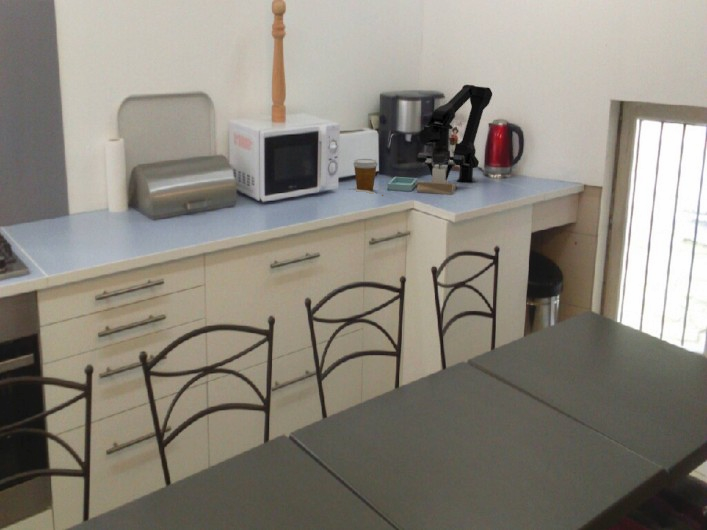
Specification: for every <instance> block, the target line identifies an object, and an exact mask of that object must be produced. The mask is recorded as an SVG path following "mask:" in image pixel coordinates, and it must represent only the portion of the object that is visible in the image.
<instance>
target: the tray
mask: <svg viewBox="0 0 707 530" xmlns="http://www.w3.org/2000/svg"><path fill="white" fill-rule="evenodd" d="M418 180H419V179H418V177H406V176H405V177H403V176H402V177H401V176H394V177H393V178H392V179H391V180H390V181H389V182H388V183H387V191H396V192H397V191H399V192H413V190H414V189H415V188H416V187H417V184H418V182H419V181H418Z"/></svg>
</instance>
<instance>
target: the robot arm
mask: <svg viewBox="0 0 707 530" xmlns="http://www.w3.org/2000/svg"><path fill="white" fill-rule="evenodd" d="M492 97H493V91H492V90H491V88H490V87H488V86H478V85H477V86H476V85H473V84H464V85H463V86H462V88H461V89H460V90H459V91H458V92H457V93H456V94H455V95H454V96H453V97H452V98H451V99H449V101H448V102H447V103H446V104H442V105H440V106H438V107H437V108H435V109H434V110H433V112H432V115H431V117H430V119H429V121H428V123H427V125H423V129H422V130H421V131H420V132H419V135H418V136H419V140H420V142H421V143H422V144H424V145H428V144H433V150H432V152H431V153H432V154H431V155H429V154H430V153H429V152H419V153H418V155H417V156H416V162H417V163H424V165H427V167H428V169H429V171H430V174H431V176H432V169H433V168H434V166H435V163H439V164H440V163H442V164H444V163H445V162H448V163H447V164H446V165H447V173H446V180H447V181H448V177H449V176H450V172H451V170H452V168H453V167H455V166H458V167H459V171H458V178H457V180H456V181H457V182H463V183H464V182H466V183H473V182H474V180H475V178H474V169H476V168H478V167H479V164H480V163H479V162H480V161H479V159H478V157H476V146H475V140H476V137H477V135H478V130H479V126H480V123H481V120H482V116H483V112H484V110H485V109H486V108H487V107H488V106H489V105H490V102H491V100H492ZM467 101H469V102H470V107H471V109H470V110H469V111H470V112H469V115H468V119H467V122H466V125H465V130H464V133H463V136H462V140H461V141H460V142H459V143H455V145H454V146H455V147H454V150H453V152H452V153H453V156H451V150H450V149H449V141H450V130H453V126H452V125H451V123H452V122H453V120H454V119H455V118H456V113H457V112H458V111H459V110H460V109H461V107H463V105H465V103H467Z"/></svg>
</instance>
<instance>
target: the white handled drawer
mask: <svg viewBox="0 0 707 530" xmlns="http://www.w3.org/2000/svg"><path fill="white" fill-rule="evenodd" d="M447 165H448V164H443V163H440V162H439V164H434V168H433V169H432V175H431V182H433V183H448V179H447V180H446V173H447Z"/></svg>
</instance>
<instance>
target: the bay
mask: <svg viewBox="0 0 707 530" xmlns="http://www.w3.org/2000/svg"><path fill="white" fill-rule="evenodd" d="M416 187H417V188H416V191H417V192H416V193H425V194H437V195H439V194H440V195H452V194H453V193H454V191H455V190H456V183H450V182H447V183H433V182H432V181H418V182H417V185H416Z"/></svg>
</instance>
